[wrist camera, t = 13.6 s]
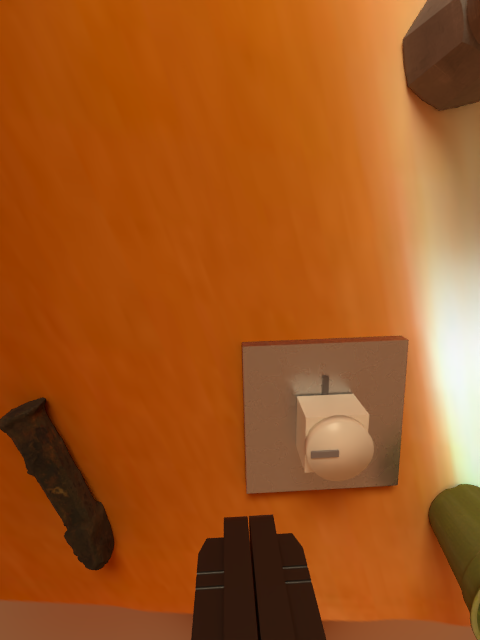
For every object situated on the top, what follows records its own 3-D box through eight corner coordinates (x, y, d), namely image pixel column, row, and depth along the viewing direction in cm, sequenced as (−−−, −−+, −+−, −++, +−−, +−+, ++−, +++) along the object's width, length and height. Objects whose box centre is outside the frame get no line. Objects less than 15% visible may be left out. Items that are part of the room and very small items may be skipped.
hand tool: (12, 404, 36) (-19, 428, 32) (48, 391, 36) (22, 413, 32) (92, 550, 40) (74, 589, 36) (125, 539, 40) (112, 577, 36)
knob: (354, 392, 35) (377, 422, 30) (351, 444, 37) (372, 480, 32) (295, 395, 35) (308, 425, 30) (295, 447, 37) (307, 484, 31)
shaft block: (391, 476, 40) (414, 509, 35) (246, 484, 39) (249, 518, 34) (400, 335, 36) (428, 350, 31) (241, 342, 36) (244, 358, 31)
